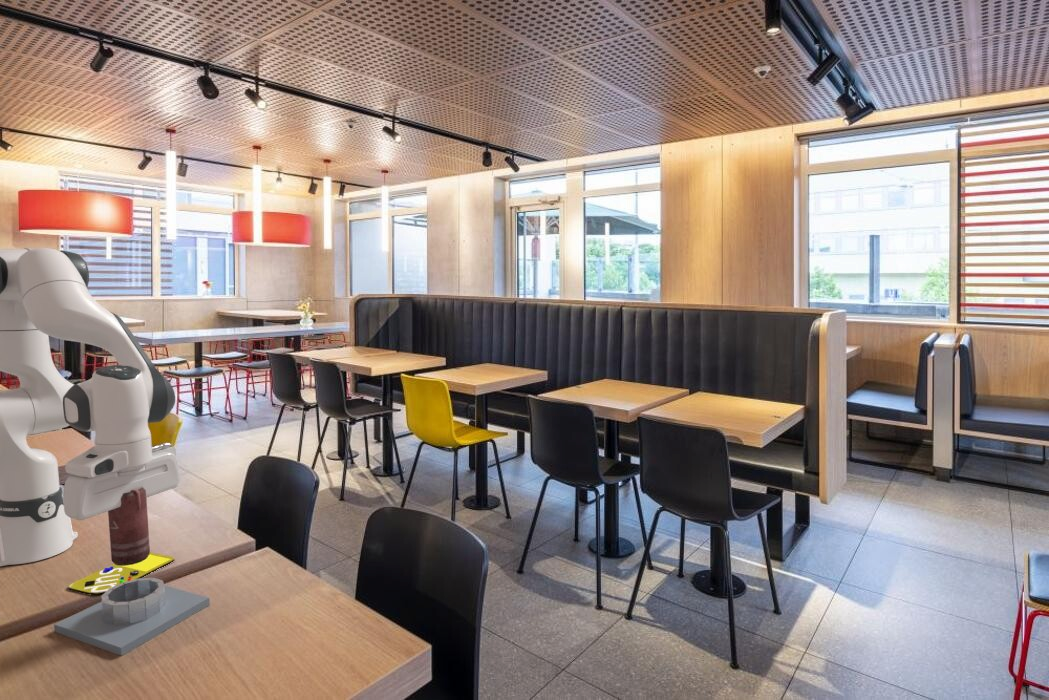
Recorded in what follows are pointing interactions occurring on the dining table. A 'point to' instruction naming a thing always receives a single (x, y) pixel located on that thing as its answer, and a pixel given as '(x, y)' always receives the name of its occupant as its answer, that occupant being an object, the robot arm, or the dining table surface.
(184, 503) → the dining table surface
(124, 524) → the can
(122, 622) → the ring holder
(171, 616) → the base board
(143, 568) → the game console
